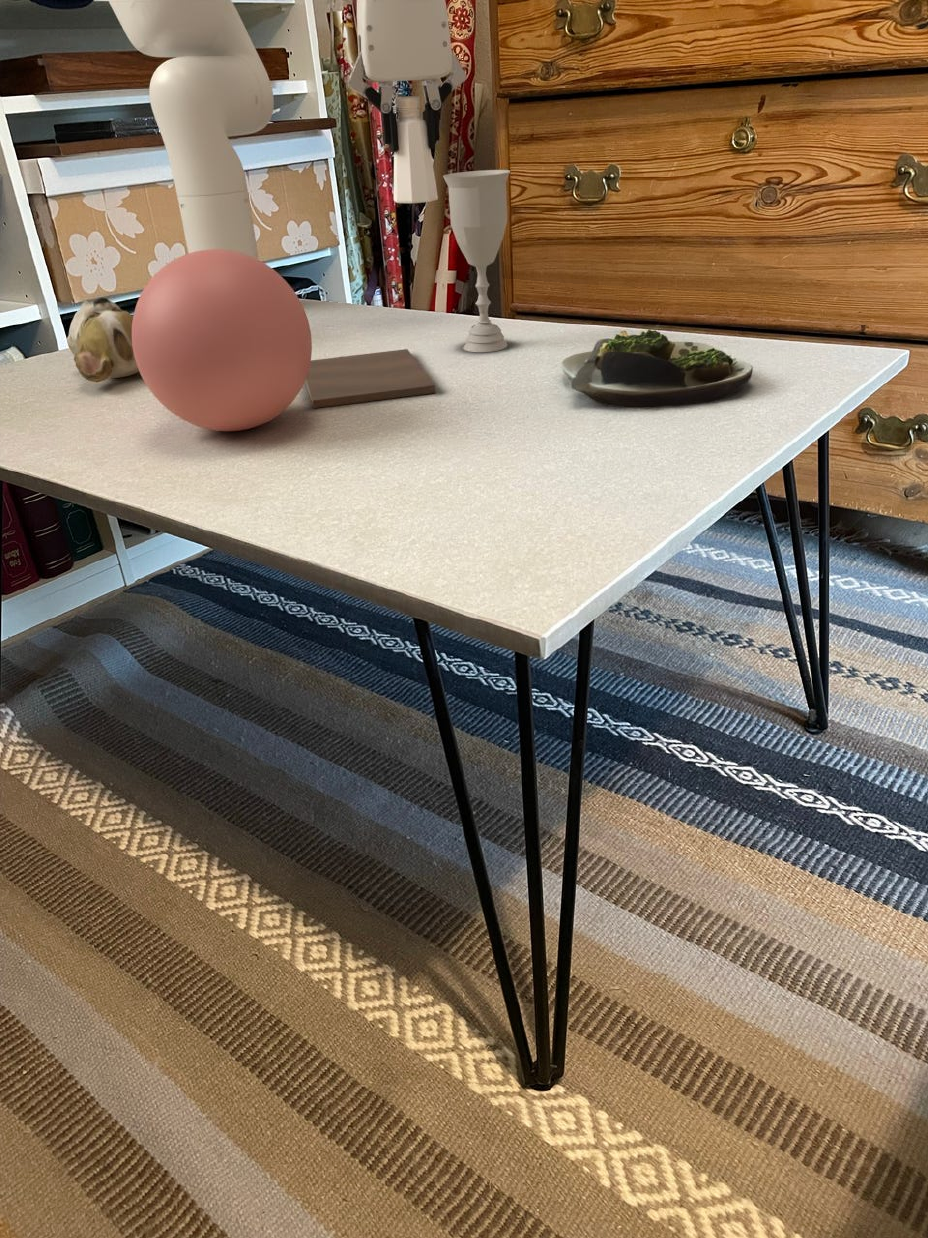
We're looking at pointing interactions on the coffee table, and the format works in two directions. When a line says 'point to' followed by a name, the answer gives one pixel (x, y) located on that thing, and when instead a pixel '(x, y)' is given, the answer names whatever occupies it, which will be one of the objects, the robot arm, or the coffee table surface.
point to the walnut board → (366, 378)
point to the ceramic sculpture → (102, 341)
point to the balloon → (221, 340)
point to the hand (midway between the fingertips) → (412, 147)
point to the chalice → (480, 239)
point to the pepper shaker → (413, 156)
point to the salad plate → (654, 371)
